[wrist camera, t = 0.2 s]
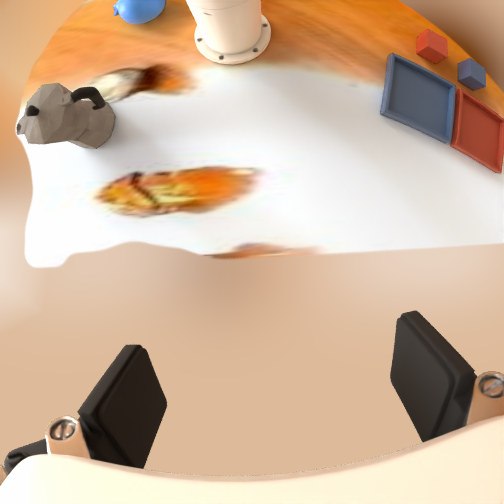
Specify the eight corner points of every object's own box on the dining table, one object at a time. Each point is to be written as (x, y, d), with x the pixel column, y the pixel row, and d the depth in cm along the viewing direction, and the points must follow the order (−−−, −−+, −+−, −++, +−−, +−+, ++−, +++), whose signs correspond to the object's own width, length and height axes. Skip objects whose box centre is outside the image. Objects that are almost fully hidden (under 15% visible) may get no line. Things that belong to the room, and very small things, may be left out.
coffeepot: (70, 159, 44) (2, 160, 26) (66, 114, 41) (1, 101, 24) (140, 134, 42) (79, 117, 25) (134, 85, 40) (78, 51, 23)
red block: (416, 53, 36) (427, 45, 32) (417, 36, 35) (427, 28, 31) (435, 63, 36) (447, 57, 32) (435, 46, 35) (447, 39, 31)
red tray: (450, 146, 40) (456, 145, 38) (455, 90, 37) (460, 88, 35) (495, 172, 41) (501, 173, 39) (500, 121, 38) (505, 120, 36)
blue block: (457, 80, 37) (470, 75, 32) (457, 63, 35) (469, 57, 31) (473, 90, 37) (486, 86, 32) (473, 73, 36) (485, 68, 31)
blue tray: (379, 114, 40) (384, 111, 38) (387, 56, 37) (392, 52, 35) (444, 143, 40) (450, 142, 38) (450, 87, 37) (455, 85, 35)
